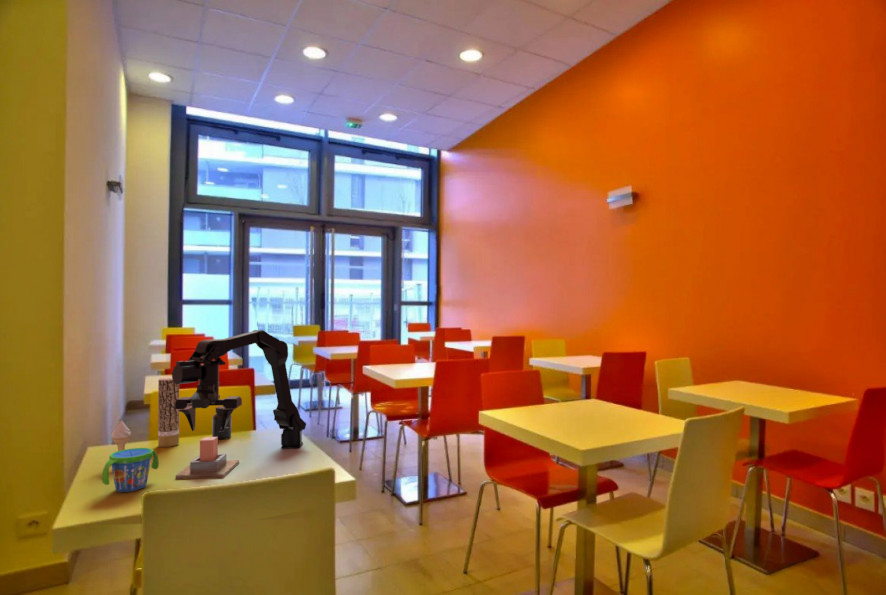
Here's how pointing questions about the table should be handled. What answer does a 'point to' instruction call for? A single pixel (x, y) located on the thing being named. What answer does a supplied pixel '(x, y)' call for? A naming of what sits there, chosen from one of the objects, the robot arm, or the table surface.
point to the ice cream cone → (121, 435)
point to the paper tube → (167, 412)
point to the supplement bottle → (220, 425)
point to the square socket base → (208, 468)
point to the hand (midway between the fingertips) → (208, 430)
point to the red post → (209, 449)
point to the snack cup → (130, 468)
